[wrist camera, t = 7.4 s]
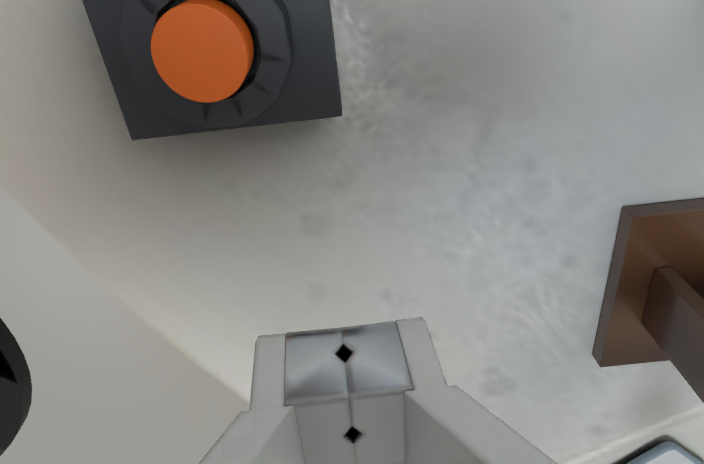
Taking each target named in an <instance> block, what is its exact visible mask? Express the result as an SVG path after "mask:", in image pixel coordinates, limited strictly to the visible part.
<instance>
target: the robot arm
mask: <svg viewBox="0 0 704 464" xmlns="http://www.w3.org/2000/svg"><path fill="white" fill-rule="evenodd" d="M199 464H557V463H556V462H555V461H553V460H552V459H551V458H550V457H548V456H547V455H546V454H544V453H543V452H542V451H540V450H539V449H538V448H537V447H535V446H534V445H533V444H531V443H530V442H529V441H528V440H526V439H525V438H524V437H522V436H521V435H520V434H518V433H517V432H516V431H515V430H513V429H512V428H511V427H509V426H508V425H507V424H506V423H504V422H503V421H502V420H500V419H499V418H498V417H496V416H495V415H494V414H493V413H491V412H490V411H489V410H487V409H486V408H485V407H483V406H482V405H481V404H480V403H478V402H477V401H476V400H474V399H473V398H472V397H471V396H469V395H468V394H467V393H465V392H464V391H463V390H461V389H460V388H459V387H458V386H456V385H454V386H447V383H446V380H445V377H444V374H443V372H442V369H441V366H440V363H439V360H438V357H437V354H436V351H435V348H434V345H433V342H432V339H431V336H430V333H429V330H428V327H427V324H426V321H425V320H424V319H423V318H422V317H418V318H411V319H403V320H396V321H395V322H394V321H390V322H382V323H374V324H366V325H358V326H350V327H342V328H333V329H322V330H311V331H300V332H289V333H287V334H274V335H263V336H258V338H257V340H256V343H255V354H254V365H253V376H252V387H251V399H250V410H249V411H243V412H240V413H239V414H238V416H237V417H236V418H235V419H234V421H233V422H232V423H231V424H230V425H229V427H228V428H227V429H226V430H225V432H224V433H223V434H222V435H221V437H220V438H219V439H218V440H217V442H216V443H215V444H214V445H213V446H212V448H211V449H210V450H209V451H208V452H207V454H206V455H205V456H204V458H203V459H202V460H201V461H200V462H199Z"/></svg>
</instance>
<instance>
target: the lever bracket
mask: <svg viewBox="0 0 704 464" xmlns="http://www.w3.org/2000/svg"><path fill="white" fill-rule="evenodd" d="M593 356H594V358H595V360H596V361H597V363H598V365H599V366H600V367H608V366H617V365H627V364H636V363H646V362H656V361H665V360H670V361H671V362H672V363H673V365H674V366H675V367H676V368H677V370H678V371H679V372H680V374H681V375H682V376H683V377H684V379H685V380H686V381H687V382H688V384H689V385H690V386H691V388H692V389H693V390H694V391H695V393H696V394H697V395H698V397H699V398H700V399H701V400H702V402H703V403H704V198H701V199H692V200H682V201H673V202H664V203H655V204H646V205H637V206H628V207H623V208H622V213H621V218H620V223H619V228H618V233H617V238H616V242H615V247H614V252H613V257H612V262H611V267H610V272H609V277H608V282H607V287H606V292H605V296H604V301H603V306H602V311H601V316H600V321H599V326H598V331H597V336H596V341H595V346H594V350H593Z"/></svg>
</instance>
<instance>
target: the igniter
mask: <svg viewBox="0 0 704 464" xmlns="http://www.w3.org/2000/svg"><path fill="white" fill-rule="evenodd" d="M151 55H152V59H153V62H154V65H155V68H156V69H157V71H158V73H159V75H160V76H161V78H162V79H163V81H164V82H165V83H166V84H167V85H168V86H169V87H170V88H171V89H172V90H174V91H175V92H176V93H178V94H179V95H181V96H183V97H185V98H187V99H190V100H193V101H197V102H204V103H209V102H217V101H220V100H223V99H225V98H227V97H229V96H231V95H232V94H234V93H235V92H236V91H237V90H238V89H239V87H240V86H241V85H242V83H243V81H244V80H245V78H246V76H247V74H248V72H249V70H250V68H251V65H252V62H253V57H254V45H253V39H252V35H251V33H250V30H249V28H248V26H247V24H246V23H245V21H244V20H243V19H242V17H241V16H240V15H239V14H238V13H237V12H236V11H235V10H234V9H233V8H231V7H230V6H228V5H227V4H225V3H223V2H221V1H218V0H187V1H185V2H183V3H181V4H179V5H177V6H175V7H174V8H172V9H170V10H168V11H167V12H166V13H165V14H163V16H162V17H161V18H160V19H159V20H158V22H157V23H156V25H155V27H154V30H153V33H152V38H151Z"/></svg>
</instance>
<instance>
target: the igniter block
mask: <svg viewBox="0 0 704 464" xmlns="http://www.w3.org/2000/svg"><path fill="white" fill-rule="evenodd" d="M185 1H187V0H83V3H84V6H85V9H86V12H87V14H88V17H89V20H90V23H91V26H92V29H93V31H94V34H95V37H96V40H97V43H98V46H99V48H100V51H101V54H102V57H103V60H104V63H105V65H106V68H107V71H108V74H109V77H110V80H111V82H112V85H113V88H114V91H115V94H116V97H117V99H118V102H119V105H120V108H121V111H122V113H123V116H124V119H125V122H126V125H127V128H128V130H129V133H130V136H131V139H132V140H139V139H148V138H156V137H165V136H174V135H182V134H191V133H200V132H209V131H217V130H226V129H235V128H243V127H252V126H261V125H269V124H278V123H287V122H296V121H304V120H313V119H322V118H330V117H339V116H342V103H341V94H340V85H339V77H338V68H337V60H336V51H335V43H334V34H333V26H332V17H331V9H330V0H218V1H221V2H223V3H225V4H227V5H228V6H230V7H231V8H233V9H234V10H235V11H236V12H237V13H238V14H239V15H240V16H241V17H242V19H243V20H244V21H245V23H246V24H247V26H248V28H249V30H250V33H251V35H252V39H253V45H254V57H253V62H252V65H251V68H250V70H249V72H248V74H247V76H246V78H245V80H244V81H243V83H242V85H241V86H240V87H239V89H238V90H237V91H236V92H235V93H234V94H232V95H231V96H229V97H227V98H225V99H223V100H220V101H217V102H209V103H204V102H197V101H193V100H190V99H187V98H185V97H183V96H181V95H179V94H178V93H176V92H175V91H174V90H172V89H171V88H170V87H169V86H168V85H167V84H166V83H165V82H164V81H163V79H162V78H161V76H160V75H159V73H158V71H157V69H156V68H155V65H154V62H153V59H152V55H151V38H152V33H153V30H154V27H155V25H156V23H157V22H158V20H159V19H160V18H161V17H162V16H163V14H165V13H166V12H167V11H168V10H170V9H172V8H174V7H175V6H177V5H179V4H181V3H183V2H185Z"/></svg>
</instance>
